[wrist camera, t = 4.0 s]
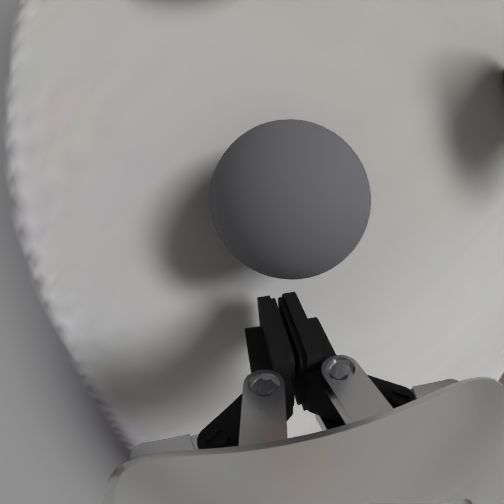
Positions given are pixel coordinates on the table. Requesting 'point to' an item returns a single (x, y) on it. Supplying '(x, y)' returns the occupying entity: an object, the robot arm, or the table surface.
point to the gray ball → (290, 199)
